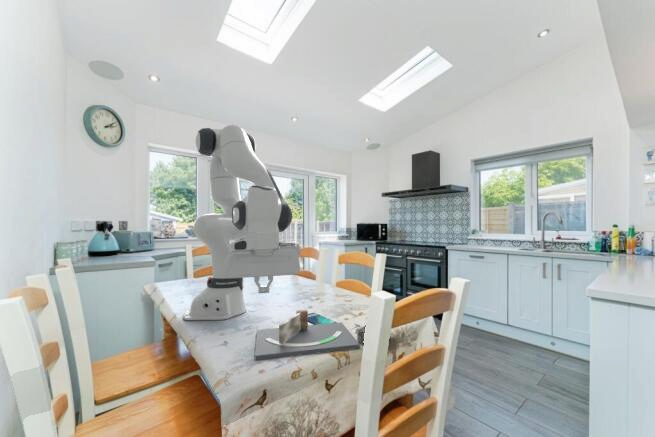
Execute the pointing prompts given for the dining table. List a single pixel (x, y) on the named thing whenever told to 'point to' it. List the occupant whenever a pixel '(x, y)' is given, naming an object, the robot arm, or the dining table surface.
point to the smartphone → (318, 319)
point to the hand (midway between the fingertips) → (263, 292)
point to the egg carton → (360, 334)
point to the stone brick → (293, 325)
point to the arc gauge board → (304, 341)
